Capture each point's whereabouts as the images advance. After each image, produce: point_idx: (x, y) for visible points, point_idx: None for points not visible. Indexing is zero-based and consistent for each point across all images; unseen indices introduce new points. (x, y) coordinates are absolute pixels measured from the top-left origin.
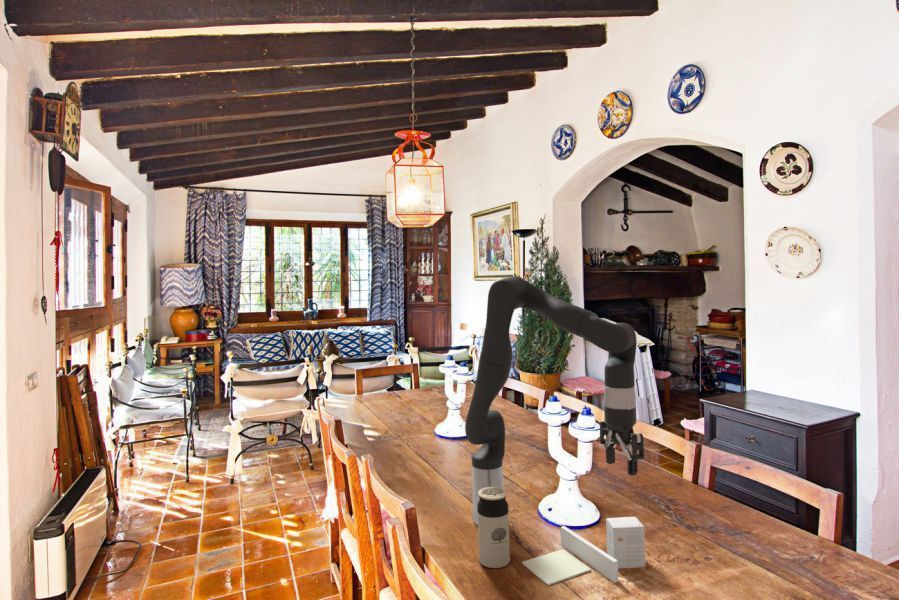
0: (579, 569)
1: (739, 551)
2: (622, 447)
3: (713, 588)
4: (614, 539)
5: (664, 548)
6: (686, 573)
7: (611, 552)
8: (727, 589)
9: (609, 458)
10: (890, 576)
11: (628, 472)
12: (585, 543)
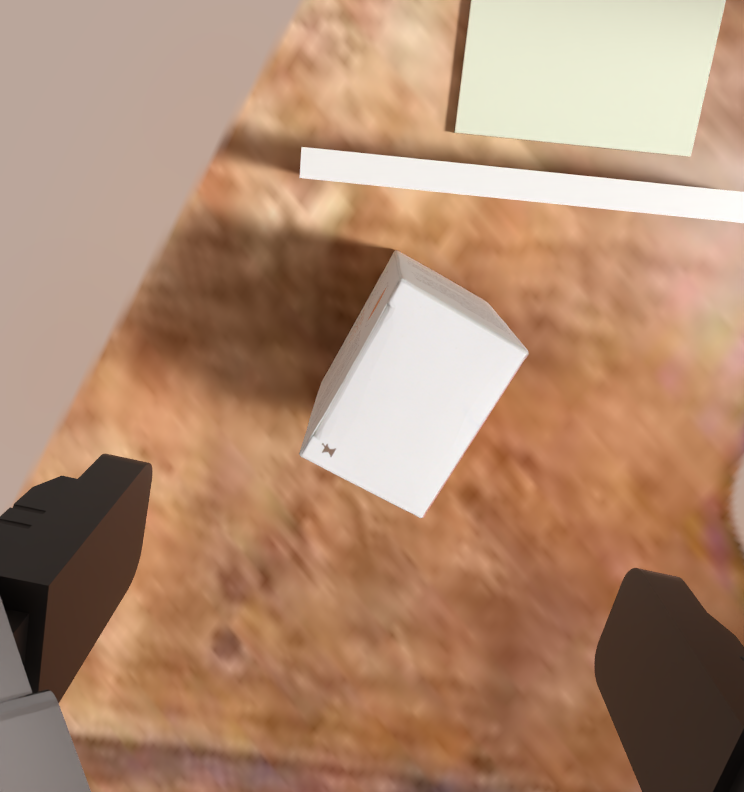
0: (490, 75)
1: (194, 772)
2: (13, 770)
3: (63, 475)
4: (395, 272)
5: (379, 577)
6: (193, 483)
7: (430, 274)
8: None
9: (652, 636)
10: None
11: (122, 467)
12: (546, 172)
